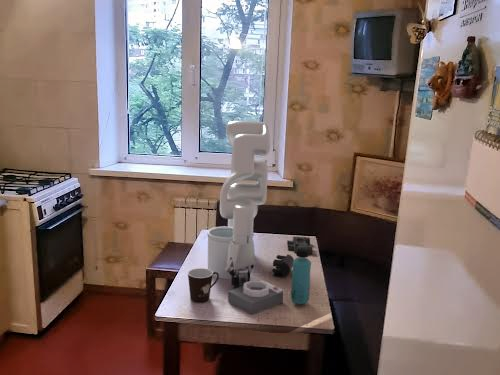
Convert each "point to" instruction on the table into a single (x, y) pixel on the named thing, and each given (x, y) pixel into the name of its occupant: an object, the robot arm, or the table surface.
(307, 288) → the beverage bottle
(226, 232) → the utensil holder
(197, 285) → the coffee mug
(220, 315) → the table surface
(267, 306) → the camera body
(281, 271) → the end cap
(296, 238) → the binoculars
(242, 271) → the lens
